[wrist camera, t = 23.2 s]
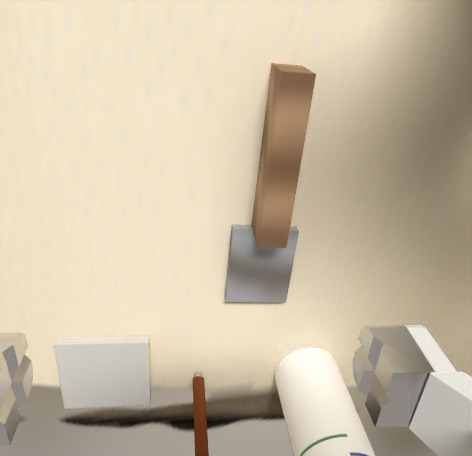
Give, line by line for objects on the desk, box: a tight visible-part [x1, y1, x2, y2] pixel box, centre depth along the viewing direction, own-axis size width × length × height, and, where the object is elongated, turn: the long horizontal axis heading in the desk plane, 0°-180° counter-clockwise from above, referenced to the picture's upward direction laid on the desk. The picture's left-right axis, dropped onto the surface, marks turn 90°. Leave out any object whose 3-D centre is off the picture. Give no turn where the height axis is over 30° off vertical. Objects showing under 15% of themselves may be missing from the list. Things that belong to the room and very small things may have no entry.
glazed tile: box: [54, 335, 151, 409], centre depth 46 cm, size 9×2×9 cm
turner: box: [225, 63, 316, 302], centre depth 37 cm, size 22×6×4 cm, turn 175°
